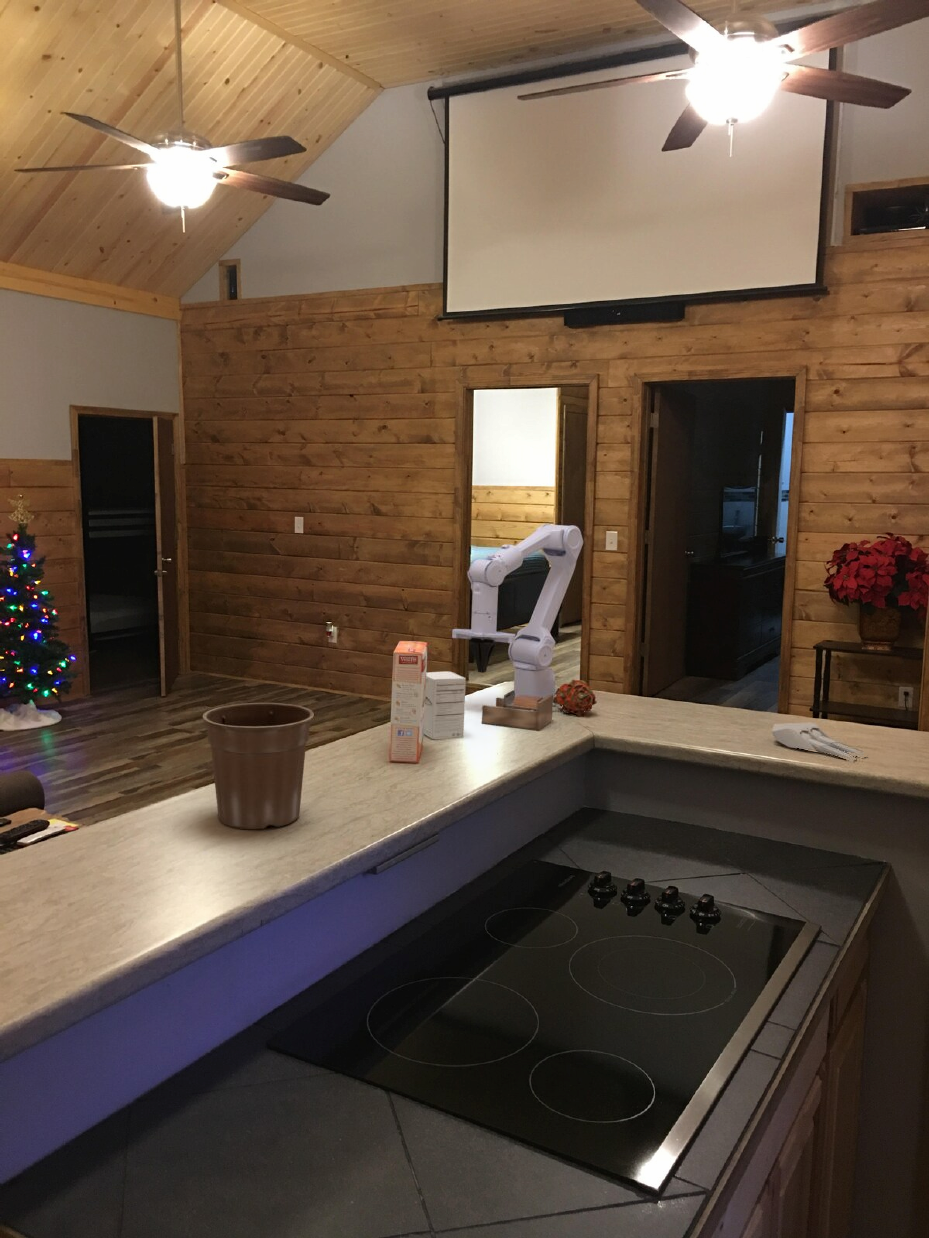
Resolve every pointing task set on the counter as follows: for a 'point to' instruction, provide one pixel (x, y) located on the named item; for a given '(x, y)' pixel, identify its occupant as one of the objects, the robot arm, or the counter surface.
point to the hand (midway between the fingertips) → (482, 671)
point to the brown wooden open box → (519, 715)
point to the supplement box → (444, 705)
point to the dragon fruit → (575, 697)
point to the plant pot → (258, 762)
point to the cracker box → (408, 701)
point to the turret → (810, 739)
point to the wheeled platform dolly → (521, 701)
